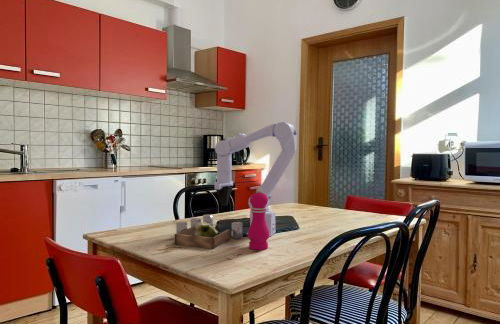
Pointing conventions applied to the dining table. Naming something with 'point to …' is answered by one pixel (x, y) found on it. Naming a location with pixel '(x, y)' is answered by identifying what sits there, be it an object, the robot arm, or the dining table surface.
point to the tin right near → (195, 221)
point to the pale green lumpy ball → (205, 230)
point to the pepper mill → (258, 222)
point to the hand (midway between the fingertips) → (224, 205)
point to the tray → (200, 239)
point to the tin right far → (181, 226)
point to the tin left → (237, 230)
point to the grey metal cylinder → (208, 219)
